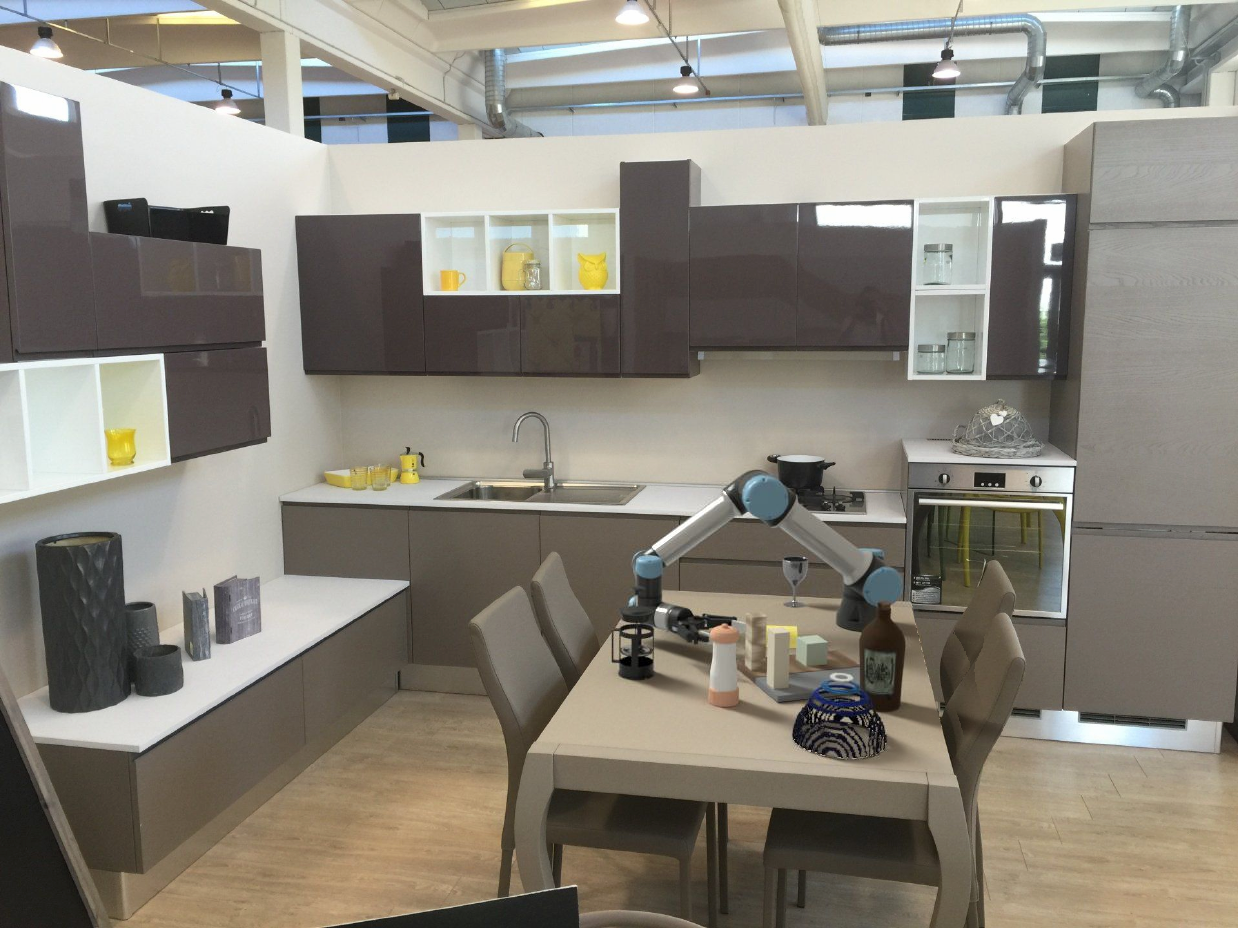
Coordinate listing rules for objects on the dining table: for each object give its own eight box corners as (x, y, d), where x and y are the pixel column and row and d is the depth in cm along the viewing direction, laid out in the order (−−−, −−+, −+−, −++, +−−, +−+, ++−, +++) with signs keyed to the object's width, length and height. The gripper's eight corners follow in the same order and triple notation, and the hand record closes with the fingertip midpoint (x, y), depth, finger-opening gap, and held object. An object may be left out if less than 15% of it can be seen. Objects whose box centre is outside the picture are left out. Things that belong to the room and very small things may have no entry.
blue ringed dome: (802, 716, 233) (803, 656, 231) (891, 729, 226) (893, 667, 224) (783, 750, 215) (785, 685, 212) (879, 765, 207) (882, 699, 205)
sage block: (816, 656, 268) (817, 635, 268) (827, 664, 263) (827, 641, 262) (795, 658, 267) (796, 637, 266) (806, 666, 261) (806, 644, 260)
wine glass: (805, 601, 327) (807, 556, 325) (807, 608, 319) (809, 562, 317) (780, 600, 328) (782, 555, 326) (782, 607, 320) (783, 561, 318)
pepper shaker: (702, 698, 244) (704, 621, 241) (729, 693, 246) (730, 618, 244) (717, 708, 237) (718, 630, 234) (744, 704, 240) (746, 626, 237)
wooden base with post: (837, 655, 274) (838, 600, 272) (861, 671, 262) (863, 613, 260) (734, 665, 266) (735, 608, 264) (754, 682, 254) (755, 622, 251)
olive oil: (860, 693, 247) (863, 594, 243) (904, 699, 243) (909, 598, 239) (854, 709, 237) (857, 606, 233) (900, 715, 233) (905, 610, 230)
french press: (658, 668, 264) (659, 583, 261) (655, 680, 255) (656, 592, 252) (614, 666, 266) (614, 581, 262) (609, 678, 256) (609, 591, 253)
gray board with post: (862, 671, 261) (864, 614, 259) (888, 689, 249) (891, 628, 247) (755, 683, 253) (756, 623, 251) (777, 701, 241) (779, 639, 238)
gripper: (703, 622, 287) (764, 638, 273) (644, 642, 269) (705, 661, 255) (703, 596, 286) (764, 612, 271) (644, 615, 268) (706, 632, 254)
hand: (736, 635), depth 263 cm, fingers open, 13 cm apart
